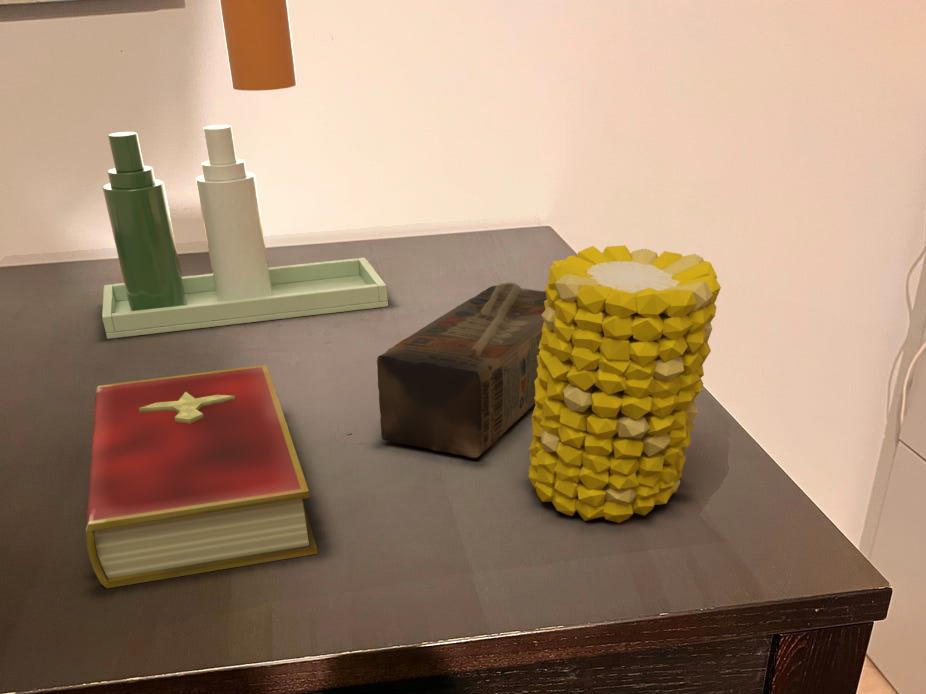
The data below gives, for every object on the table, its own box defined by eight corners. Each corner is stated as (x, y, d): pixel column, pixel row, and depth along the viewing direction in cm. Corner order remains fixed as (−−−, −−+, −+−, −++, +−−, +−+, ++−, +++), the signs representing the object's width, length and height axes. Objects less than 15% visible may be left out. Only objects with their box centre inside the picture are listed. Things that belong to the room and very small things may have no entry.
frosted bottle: (207, 301, 97) (175, 128, 88) (253, 289, 100) (226, 120, 91) (237, 312, 94) (207, 133, 85) (283, 299, 96) (259, 125, 88)
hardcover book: (98, 589, 55) (78, 521, 52) (105, 439, 72) (90, 382, 69) (317, 553, 57) (308, 486, 55) (274, 416, 74) (266, 360, 72)
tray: (107, 339, 90) (101, 316, 89) (108, 305, 98) (103, 284, 97) (388, 306, 95) (386, 285, 94) (366, 277, 104) (365, 257, 103)
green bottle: (121, 311, 95) (80, 135, 86) (170, 298, 98) (135, 127, 89) (148, 322, 92) (109, 141, 83) (198, 309, 95) (165, 132, 86)
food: (574, 471, 69) (706, 518, 64) (467, 499, 60) (611, 557, 55) (622, 233, 62) (773, 265, 57) (510, 226, 53) (678, 263, 48)
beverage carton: (581, 368, 80) (584, 283, 77) (482, 466, 66) (479, 368, 62) (490, 356, 83) (488, 274, 79) (376, 447, 69) (367, 353, 65)
